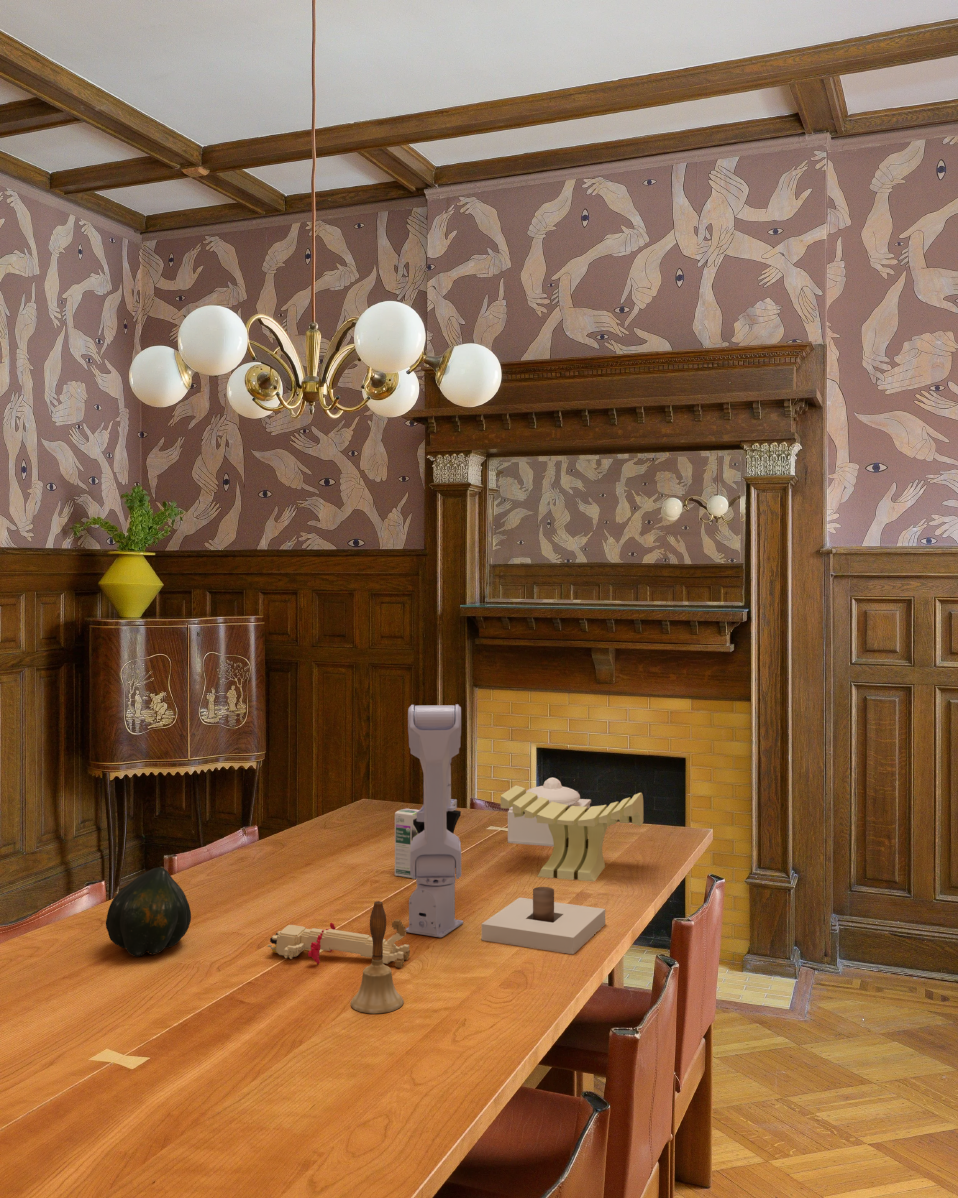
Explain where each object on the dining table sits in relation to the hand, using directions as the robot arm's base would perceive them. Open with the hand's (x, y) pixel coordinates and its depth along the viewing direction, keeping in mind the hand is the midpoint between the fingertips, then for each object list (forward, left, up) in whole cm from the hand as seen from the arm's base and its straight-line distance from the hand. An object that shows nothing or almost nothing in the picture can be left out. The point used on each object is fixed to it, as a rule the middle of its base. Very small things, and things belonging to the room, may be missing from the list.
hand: (437, 849), depth 218 cm
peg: (-10, -28, -10) cm, 31 cm away
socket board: (-10, -28, -10) cm, 31 cm away
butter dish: (+60, -2, -11) cm, 61 cm away
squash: (-48, +34, -11) cm, 60 cm away
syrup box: (+14, +14, -11) cm, 22 cm away
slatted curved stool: (+33, -18, -11) cm, 39 cm away
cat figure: (-38, 0, -11) cm, 40 cm away
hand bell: (-52, -16, -11) cm, 56 cm away
